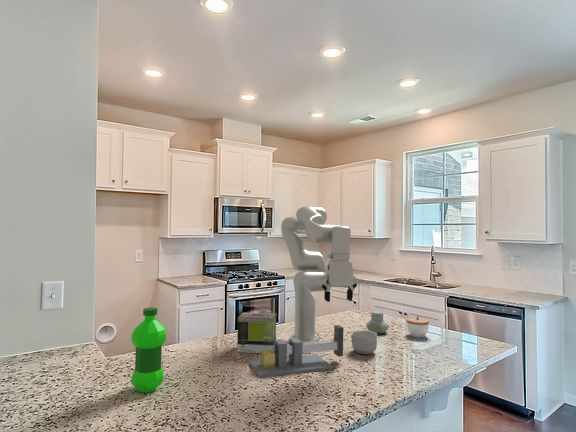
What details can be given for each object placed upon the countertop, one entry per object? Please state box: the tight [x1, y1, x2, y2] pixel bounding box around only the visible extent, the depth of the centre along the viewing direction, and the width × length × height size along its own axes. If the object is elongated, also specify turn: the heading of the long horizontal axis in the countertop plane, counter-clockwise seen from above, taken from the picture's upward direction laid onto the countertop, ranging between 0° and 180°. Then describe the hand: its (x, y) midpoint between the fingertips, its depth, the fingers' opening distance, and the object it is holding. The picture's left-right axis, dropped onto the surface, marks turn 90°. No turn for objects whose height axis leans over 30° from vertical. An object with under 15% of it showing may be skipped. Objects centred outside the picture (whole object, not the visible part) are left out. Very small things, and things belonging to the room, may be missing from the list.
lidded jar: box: [405, 316, 430, 338], centre depth 188 cm, size 11×11×9 cm
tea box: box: [236, 312, 277, 354], centre depth 161 cm, size 15×10×15 cm, turn 84°
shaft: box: [287, 324, 344, 357], centre depth 145 cm, size 4×24×11 cm, turn 110°
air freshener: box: [365, 310, 389, 335], centre depth 193 cm, size 11×8×10 cm
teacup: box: [350, 329, 378, 355], centre depth 162 cm, size 14×11×8 cm
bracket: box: [248, 337, 333, 378], centre depth 142 cm, size 14×28×10 cm, turn 110°
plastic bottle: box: [130, 306, 167, 393], centre depth 120 cm, size 10×10×25 cm
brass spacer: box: [259, 350, 275, 369], centre depth 139 cm, size 5×5×4 cm
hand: (338, 300), depth 150 cm, fingers open, 9 cm apart
